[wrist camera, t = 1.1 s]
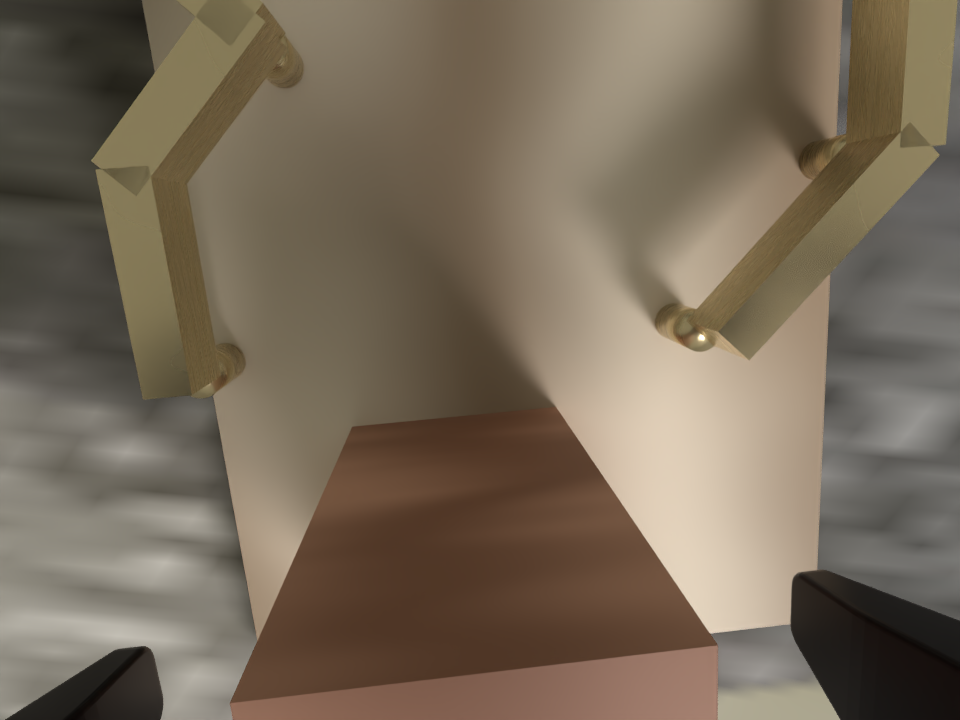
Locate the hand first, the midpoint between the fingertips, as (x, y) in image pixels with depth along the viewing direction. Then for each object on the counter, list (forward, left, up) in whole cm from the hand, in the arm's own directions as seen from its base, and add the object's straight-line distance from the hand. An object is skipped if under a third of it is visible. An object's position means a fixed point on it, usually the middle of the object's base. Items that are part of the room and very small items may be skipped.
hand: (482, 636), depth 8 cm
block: (0, 0, -4) cm, 4 cm away
